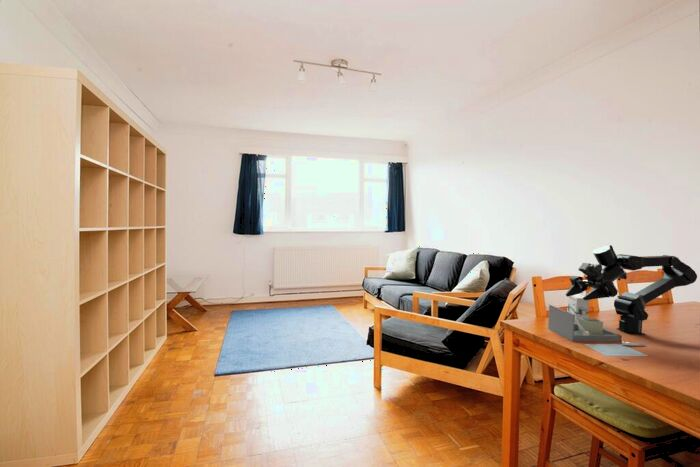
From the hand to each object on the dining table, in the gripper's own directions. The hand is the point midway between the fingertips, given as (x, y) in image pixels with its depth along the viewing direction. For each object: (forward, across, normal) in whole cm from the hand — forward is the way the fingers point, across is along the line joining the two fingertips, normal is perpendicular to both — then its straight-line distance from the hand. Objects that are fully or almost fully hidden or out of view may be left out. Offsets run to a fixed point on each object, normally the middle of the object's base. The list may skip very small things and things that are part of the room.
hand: (574, 297), depth 130 cm
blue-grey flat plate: (+7, +16, +14) cm, 22 cm away
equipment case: (+6, +1, +13) cm, 15 cm away
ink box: (-3, -15, +18) cm, 23 cm away
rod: (-2, +12, +19) cm, 23 cm away
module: (+4, +2, +14) cm, 15 cm away
